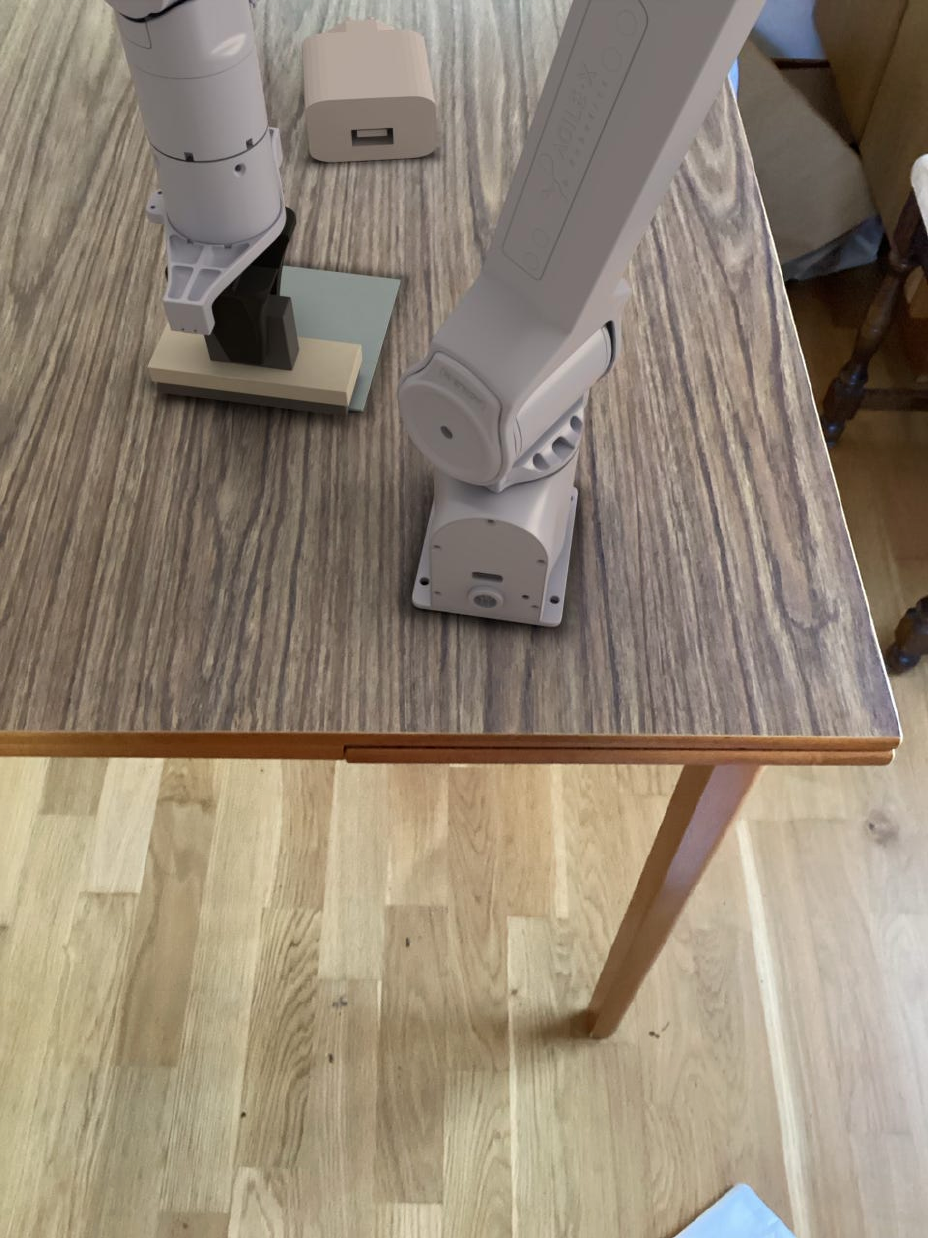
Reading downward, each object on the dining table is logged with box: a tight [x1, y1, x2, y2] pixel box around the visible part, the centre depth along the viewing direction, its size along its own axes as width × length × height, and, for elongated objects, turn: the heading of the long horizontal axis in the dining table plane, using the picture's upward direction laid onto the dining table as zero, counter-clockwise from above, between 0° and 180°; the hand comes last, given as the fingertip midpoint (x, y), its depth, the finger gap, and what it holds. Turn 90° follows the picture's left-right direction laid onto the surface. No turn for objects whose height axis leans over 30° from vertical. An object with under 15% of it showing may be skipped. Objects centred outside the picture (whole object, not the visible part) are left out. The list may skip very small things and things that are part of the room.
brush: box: [146, 294, 362, 417], centre depth 60 cm, size 4×12×6 cm, turn 81°
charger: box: [301, 15, 437, 163], centre depth 77 cm, size 5×9×15 cm
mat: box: [155, 265, 401, 413], centre depth 66 cm, size 12×13×1 cm
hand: (253, 344), depth 60 cm, fingers closed on brush, 2 cm apart
